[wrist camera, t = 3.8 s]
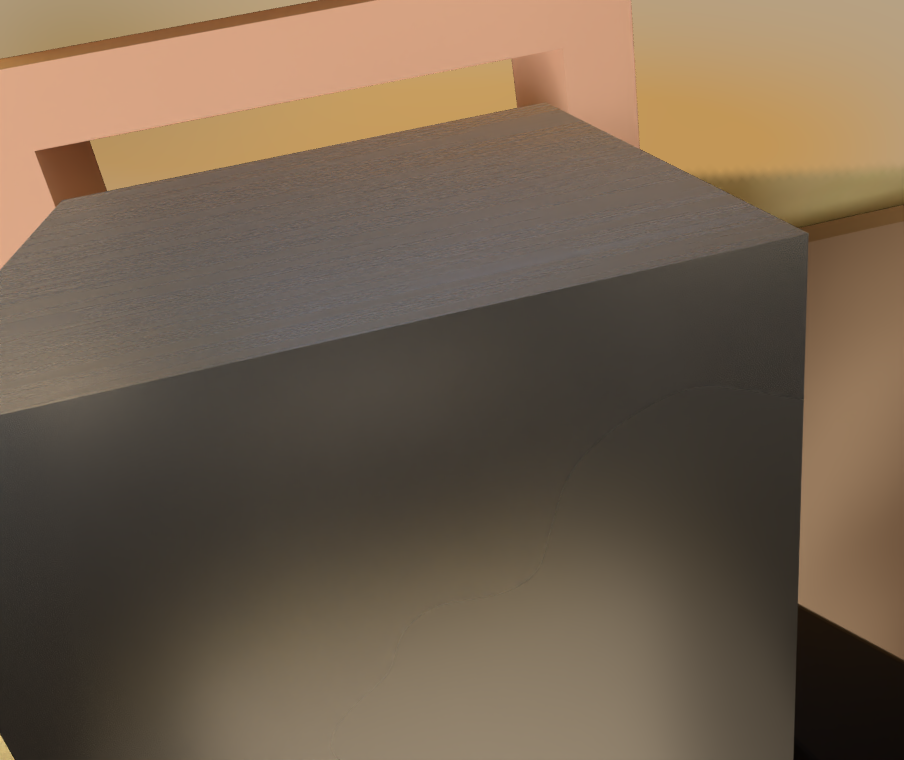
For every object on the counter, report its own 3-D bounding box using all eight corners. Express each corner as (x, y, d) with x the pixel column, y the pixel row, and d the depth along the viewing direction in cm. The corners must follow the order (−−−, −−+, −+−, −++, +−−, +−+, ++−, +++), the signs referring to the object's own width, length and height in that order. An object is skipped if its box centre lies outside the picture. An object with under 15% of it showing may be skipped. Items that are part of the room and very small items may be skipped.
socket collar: (559, -44, 14) (639, -47, 11) (603, 430, 18) (670, 523, 15) (-44, 66, 13) (-138, 97, 10) (145, 540, 17) (119, 663, 14)
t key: (554, 529, 14) (903, 1222, 6) (258, 603, 14) (242, 1450, 6) (487, 19, 11) (1093, 171, 3) (85, 97, 10) (-540, 535, 2)
